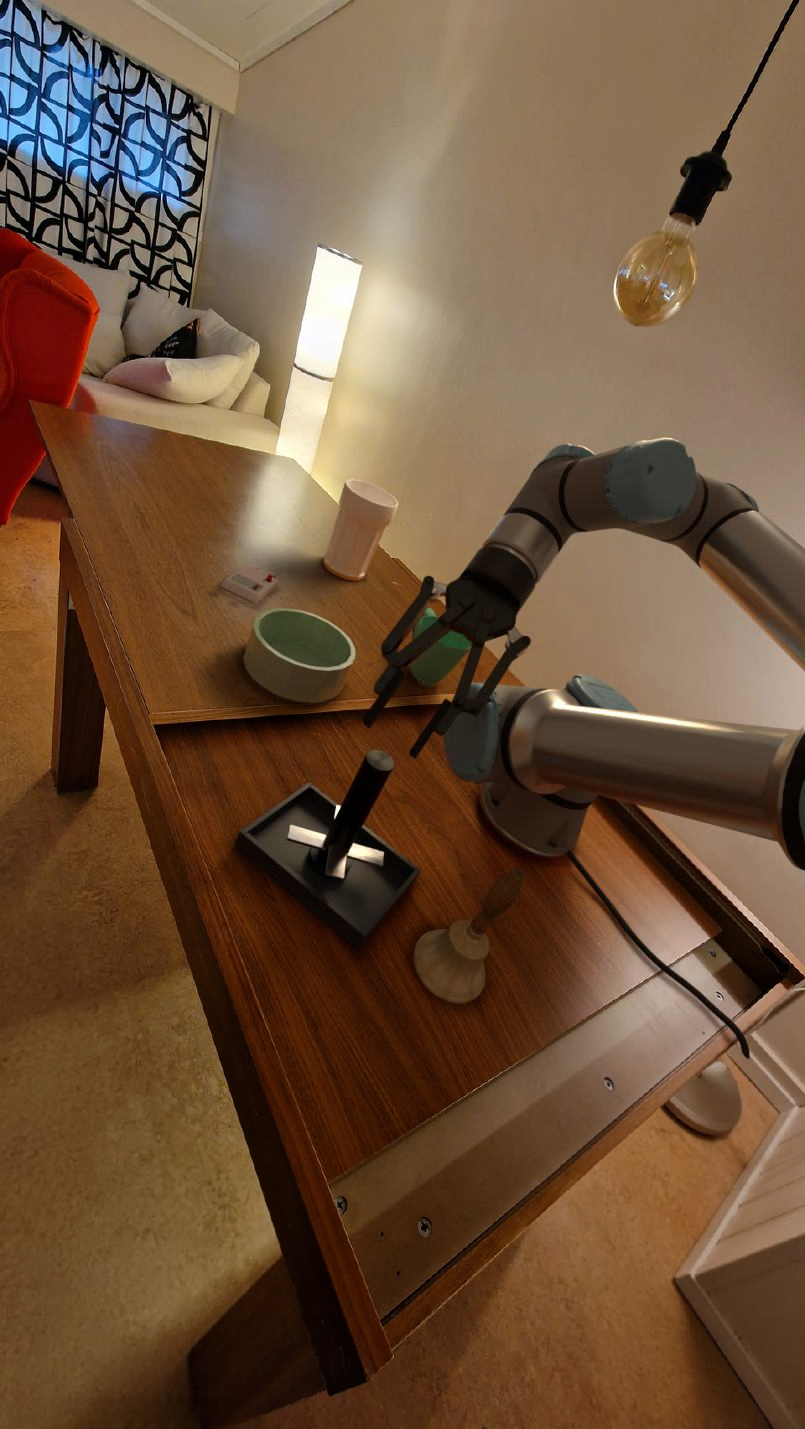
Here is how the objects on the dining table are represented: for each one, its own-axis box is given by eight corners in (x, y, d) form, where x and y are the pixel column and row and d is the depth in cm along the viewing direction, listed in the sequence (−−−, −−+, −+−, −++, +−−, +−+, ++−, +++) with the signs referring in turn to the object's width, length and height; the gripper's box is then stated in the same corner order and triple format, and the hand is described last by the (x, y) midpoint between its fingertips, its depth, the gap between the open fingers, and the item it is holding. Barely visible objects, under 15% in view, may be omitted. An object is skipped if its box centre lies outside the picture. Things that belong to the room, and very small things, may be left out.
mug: (456, 698, 110) (481, 653, 104) (407, 693, 105) (431, 645, 99) (427, 650, 120) (449, 606, 114) (382, 642, 115) (403, 596, 109)
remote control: (213, 594, 105) (217, 578, 103) (252, 566, 118) (256, 551, 116) (249, 611, 105) (253, 596, 104) (283, 581, 118) (288, 567, 117)
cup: (375, 587, 132) (406, 512, 122) (326, 578, 126) (355, 498, 117) (359, 561, 140) (387, 487, 130) (312, 551, 134) (338, 473, 124)
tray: (413, 883, 73) (421, 870, 72) (356, 951, 63) (365, 937, 62) (302, 795, 77) (309, 781, 76) (233, 846, 67) (239, 831, 66)
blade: (377, 841, 75) (431, 745, 66) (372, 910, 67) (432, 812, 58) (289, 814, 73) (332, 712, 64) (272, 883, 65) (320, 777, 56)
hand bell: (398, 964, 64) (466, 869, 55) (436, 917, 71) (502, 825, 62) (462, 1021, 62) (543, 932, 53) (495, 967, 68) (572, 880, 60)
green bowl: (359, 686, 101) (374, 652, 97) (299, 720, 88) (314, 682, 85) (287, 634, 104) (298, 599, 101) (220, 659, 92) (230, 621, 88)
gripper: (569, 623, 71) (459, 792, 66) (437, 542, 73) (321, 700, 69) (589, 595, 64) (467, 783, 59) (441, 506, 66) (312, 681, 61)
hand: (389, 738), depth 64 cm, fingers open, 5 cm apart
